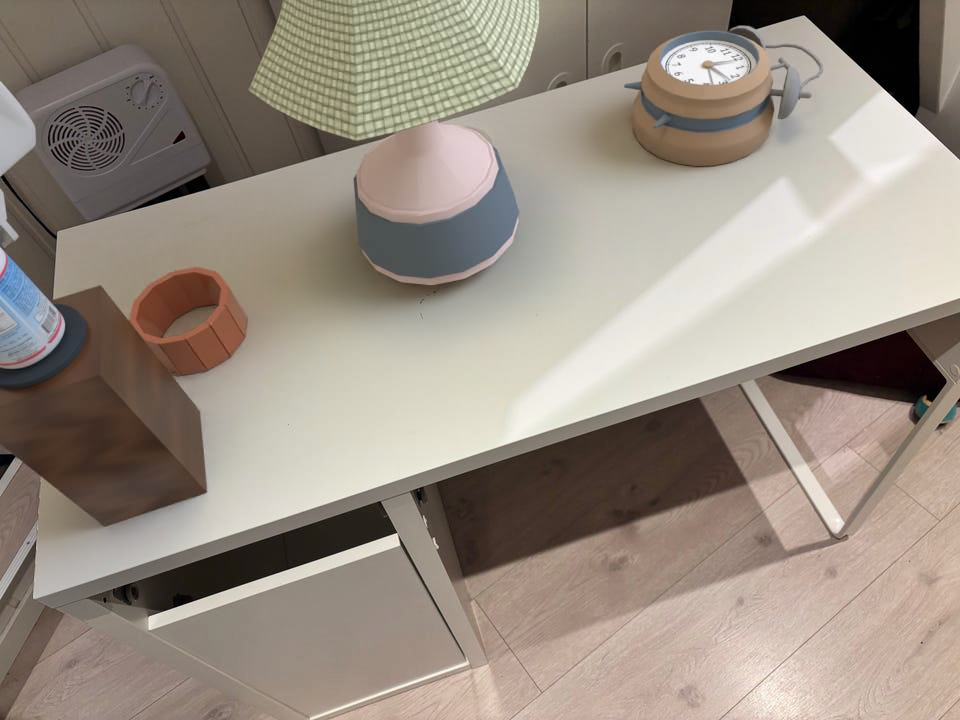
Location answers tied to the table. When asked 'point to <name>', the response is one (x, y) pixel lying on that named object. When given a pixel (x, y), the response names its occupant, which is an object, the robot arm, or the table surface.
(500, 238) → the desk lamp
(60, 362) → the coaster
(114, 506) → the riser
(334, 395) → the table surface
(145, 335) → the desk pot
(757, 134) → the alarm clock
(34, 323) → the pill bottle
